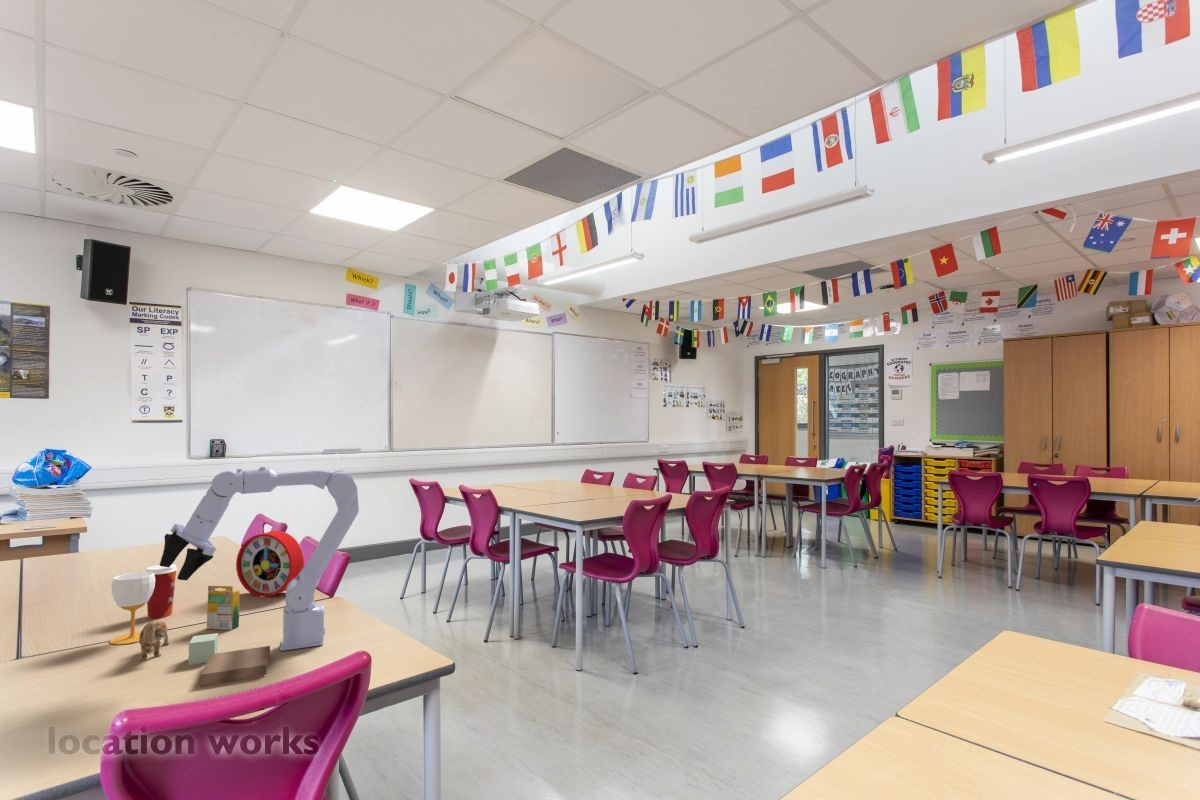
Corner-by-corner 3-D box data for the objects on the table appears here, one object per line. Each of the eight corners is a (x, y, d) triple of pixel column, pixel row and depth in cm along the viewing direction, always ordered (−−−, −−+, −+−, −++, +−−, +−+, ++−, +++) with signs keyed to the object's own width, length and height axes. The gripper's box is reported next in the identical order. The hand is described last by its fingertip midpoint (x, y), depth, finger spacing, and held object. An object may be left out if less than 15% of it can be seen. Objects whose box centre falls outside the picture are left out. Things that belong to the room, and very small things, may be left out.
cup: (102, 641, 150) (104, 577, 150) (143, 629, 158) (145, 569, 158) (120, 647, 145) (122, 581, 146) (161, 635, 153) (163, 573, 154)
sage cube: (217, 654, 141) (218, 633, 142) (214, 661, 137) (214, 639, 137) (192, 657, 139) (193, 636, 139) (188, 665, 135) (189, 643, 135)
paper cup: (181, 614, 171) (182, 565, 171) (150, 621, 164) (151, 571, 165) (169, 609, 175) (170, 562, 175) (138, 616, 168) (139, 567, 169)
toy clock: (235, 595, 189) (236, 533, 190) (249, 590, 195) (250, 529, 195) (291, 598, 186) (292, 534, 186) (303, 593, 191) (304, 531, 192)
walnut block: (269, 658, 140) (270, 645, 140) (265, 678, 129) (266, 664, 129) (209, 667, 134) (210, 654, 134) (200, 689, 124) (200, 674, 124)
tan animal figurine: (166, 660, 137) (167, 621, 138) (137, 666, 134) (138, 626, 135) (169, 641, 149) (170, 605, 150) (143, 645, 147) (144, 609, 147)
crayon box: (239, 626, 160) (240, 583, 161) (231, 630, 157) (232, 586, 158) (214, 625, 161) (215, 582, 162) (206, 629, 158) (207, 585, 159)
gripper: (173, 503, 139) (139, 558, 136) (208, 526, 133) (173, 583, 130) (200, 510, 145) (168, 562, 142) (234, 531, 139) (202, 586, 136)
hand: (172, 572), depth 136 cm, fingers open, 7 cm apart
